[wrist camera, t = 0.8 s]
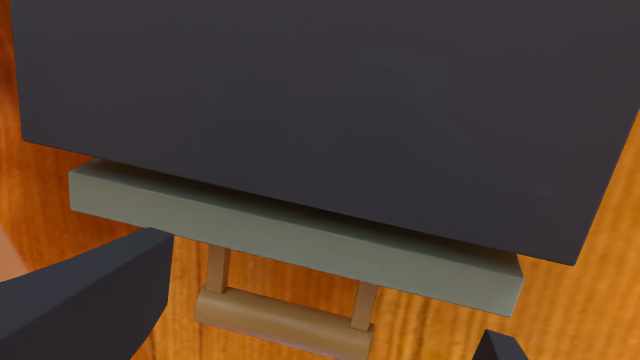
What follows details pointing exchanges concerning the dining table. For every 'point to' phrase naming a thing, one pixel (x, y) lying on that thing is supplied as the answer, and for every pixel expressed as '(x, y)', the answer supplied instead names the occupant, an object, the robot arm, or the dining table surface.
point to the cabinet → (351, 104)
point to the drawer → (296, 255)
